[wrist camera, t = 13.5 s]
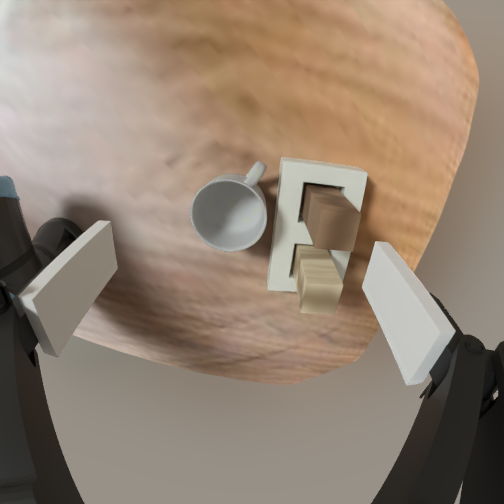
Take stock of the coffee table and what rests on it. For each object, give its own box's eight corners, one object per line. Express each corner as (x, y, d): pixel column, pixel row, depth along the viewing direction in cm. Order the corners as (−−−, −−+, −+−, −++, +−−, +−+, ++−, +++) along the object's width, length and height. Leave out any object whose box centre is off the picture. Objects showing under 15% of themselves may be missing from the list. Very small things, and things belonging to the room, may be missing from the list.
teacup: (234, 242, 50) (230, 266, 42) (186, 201, 46) (174, 219, 39) (293, 186, 45) (300, 201, 38) (244, 139, 41) (241, 145, 34)
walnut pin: (300, 211, 46) (314, 248, 34) (304, 182, 43) (321, 209, 32) (329, 215, 46) (352, 251, 34) (334, 185, 43) (361, 214, 32)
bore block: (267, 277, 53) (267, 289, 49) (280, 156, 42) (283, 160, 39) (334, 281, 53) (339, 293, 49) (359, 167, 43) (367, 172, 39)
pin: (295, 240, 48) (307, 283, 36) (324, 242, 48) (343, 285, 37) (291, 265, 50) (300, 312, 39) (318, 267, 50) (334, 314, 39)
